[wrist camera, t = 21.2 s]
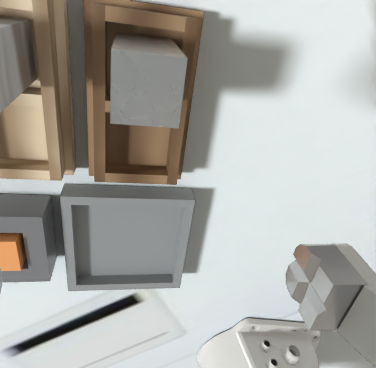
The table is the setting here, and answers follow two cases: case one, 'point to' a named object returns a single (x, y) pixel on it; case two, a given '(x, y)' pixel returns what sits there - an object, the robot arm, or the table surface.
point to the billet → (146, 81)
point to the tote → (125, 236)
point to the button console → (30, 234)
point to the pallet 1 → (35, 91)
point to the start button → (12, 251)
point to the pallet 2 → (101, 92)
